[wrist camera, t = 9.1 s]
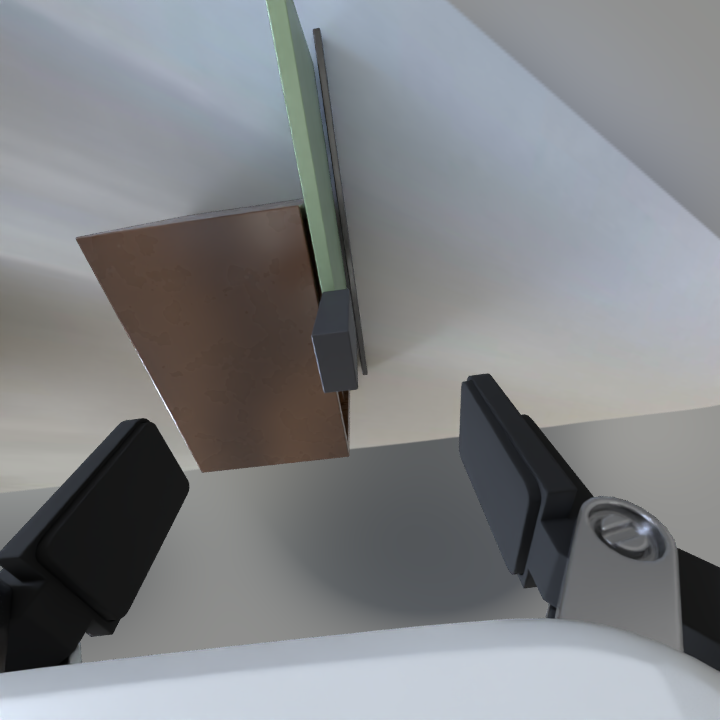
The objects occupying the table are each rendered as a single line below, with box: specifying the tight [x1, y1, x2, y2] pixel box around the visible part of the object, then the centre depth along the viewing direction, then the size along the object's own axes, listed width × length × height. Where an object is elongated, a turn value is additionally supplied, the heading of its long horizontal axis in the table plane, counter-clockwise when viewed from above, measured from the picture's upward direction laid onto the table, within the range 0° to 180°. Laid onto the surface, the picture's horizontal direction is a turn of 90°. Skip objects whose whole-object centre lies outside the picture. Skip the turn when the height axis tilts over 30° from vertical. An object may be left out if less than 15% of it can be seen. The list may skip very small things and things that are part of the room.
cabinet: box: [76, 28, 367, 473], centre depth 24 cm, size 14×28×13 cm, turn 7°
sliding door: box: [266, 0, 358, 393], centre depth 19 cm, size 2×17×19 cm, turn 8°
